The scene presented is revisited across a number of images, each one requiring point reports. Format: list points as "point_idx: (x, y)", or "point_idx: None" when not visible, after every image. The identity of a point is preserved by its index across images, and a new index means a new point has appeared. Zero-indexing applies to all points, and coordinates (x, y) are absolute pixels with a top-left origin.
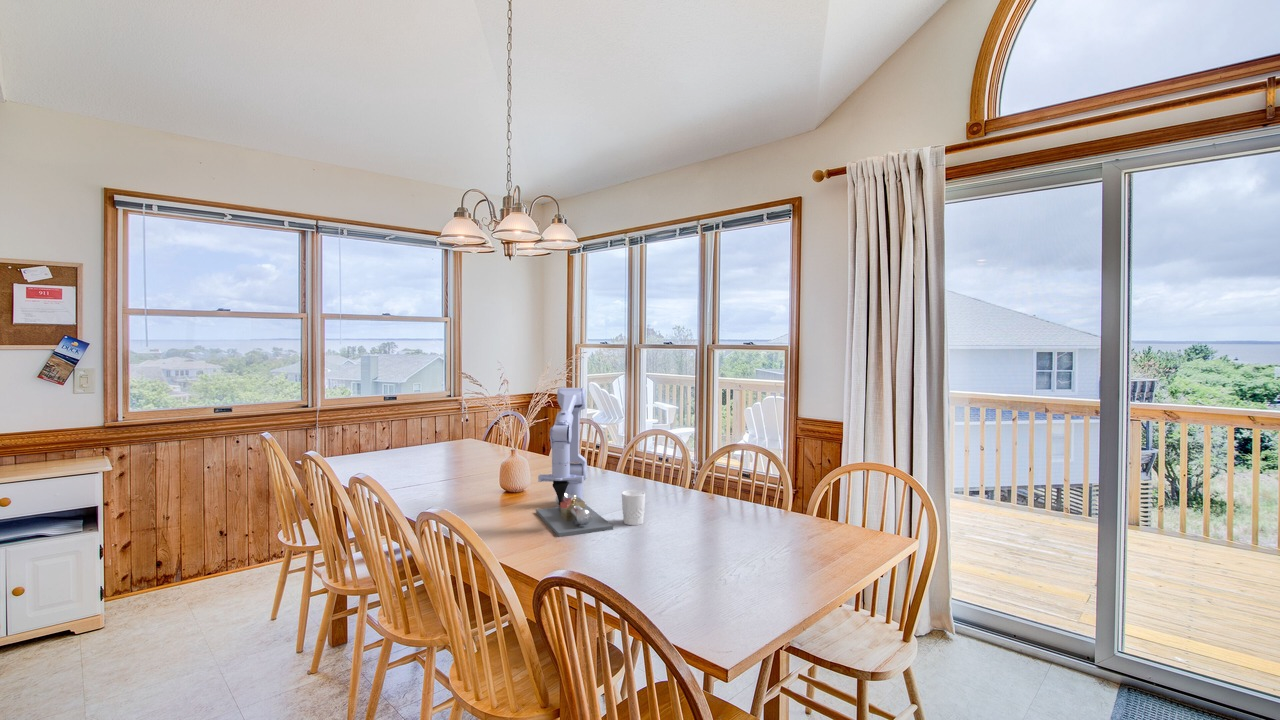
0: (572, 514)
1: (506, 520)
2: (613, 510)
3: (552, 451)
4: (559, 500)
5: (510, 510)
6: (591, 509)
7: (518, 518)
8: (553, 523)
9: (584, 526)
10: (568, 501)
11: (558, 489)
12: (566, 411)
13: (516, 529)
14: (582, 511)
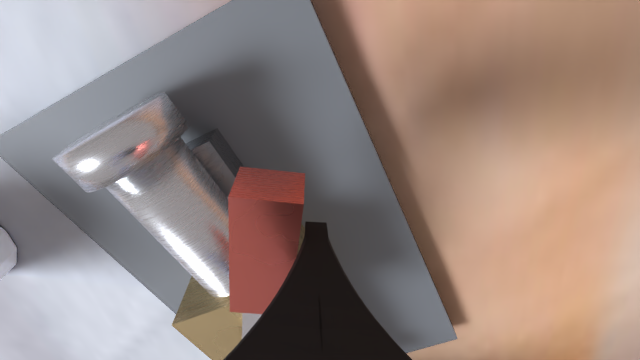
0: None
1: (596, 243)
2: (138, 356)
3: None
4: (320, 243)
5: (556, 343)
6: None
7: (534, 268)
8: (359, 170)
9: None
10: (229, 237)
11: (333, 341)
12: None
13: (568, 117)
14: (94, 137)
